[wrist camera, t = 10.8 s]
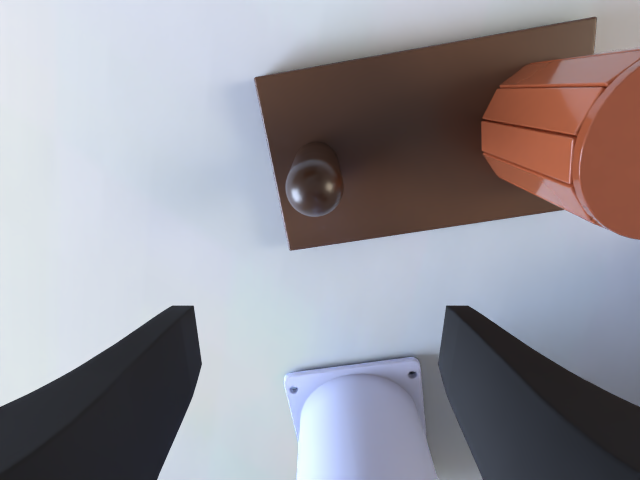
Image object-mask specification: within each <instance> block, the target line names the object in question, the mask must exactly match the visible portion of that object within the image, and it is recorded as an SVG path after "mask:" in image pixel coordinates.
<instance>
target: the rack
mask: <svg viewBox="0 0 640 480" xmlns="http://www.w3.org/2000/svg"><path fill="white" fill-rule="evenodd" d="M596 22H597V18H596V17H591V18H585V19H580V20H574V21H568V22H563V23H557V24H552V25H546V26H540V27H535V28H529V29H523V30H518V31H512V32H507V33H501V34H495V35H490V36H484V37H478V38H473V39H467V40H462V41H456V42H450V43H445V44H439V45H433V46H428V47H422V48H417V49H411V50H405V51H400V52H394V53H388V54H383V55H377V56H371V57H366V58H360V59H355V60H349V61H343V62H338V63H332V64H326V65H321V66H315V67H310V68H304V69H298V70H293V71H287V72H281V73H276V74H270V75H265V76H259V77H255V78H254V81H255V86H256V91H257V96H258V101H259V105H260V110H261V115H262V120H263V125H264V130H265V134H266V139H267V144H268V149H269V154H270V159H271V164H272V168H273V173H274V178H275V183H276V188H277V193H278V197H279V202H280V207H281V212H282V217H283V222H284V227H285V231H286V236H287V241H288V246H289V250H290V251H292V250H298V249H305V248H312V247H318V246H325V245H332V244H338V243H345V242H352V241H359V240H365V239H372V238H379V237H385V236H392V235H399V234H405V233H412V232H419V231H425V230H432V229H439V228H446V227H452V226H459V225H466V224H472V223H479V222H486V221H492V220H499V219H506V218H512V217H519V216H526V215H533V214H539V213H546V212H553V211H559V210H564V209H562V208H560V207H558V206H556V205H554V204H552V203H550V202H548V201H546V200H544V199H542V198H540V197H538V196H536V195H534V194H532V193H530V192H528V191H526V190H524V189H521V188H519V187H517V186H515V185H513V184H511V183H509V182H507V181H505V180H503V179H501V178H500V177H499V176H497V175H496V174H495V172H494V171H493V169H492V167H491V166H490V164H489V163H488V161H487V160H486V158H485V157H484V155H483V153H484V152H483V151H482V136H481V122H482V121H484V119H483V118H482V117H483V115H484V113H485V111H486V109H487V107H488V105H489V104H490V102H491V100H492V98H493V96H494V94H495V92H496V90H497V88H500V85H501V84H502V83H503V82H505V81H506V80H507V79H509V78H510V77H511V76H513V75H514V74H515V73H516V72H518V71H519V70H520V69H522V68H523V67H524V66H525V65H529V64H530V63H533V62H538V61H544V60H550V59H556V58H562V57H569V56H576V55H584V54H591V53H594V46H595V34H596Z"/></svg>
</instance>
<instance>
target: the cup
mask: <svg viewBox="0 0 640 480" xmlns="http://www.w3.org/2000/svg"><path fill="white" fill-rule="evenodd" d="M482 118H483V119H484V121H482V122H481V136H482V151H483V152H484V153H483V155H484V157H485V158H486V160H487V161H488V163H489V164H490V166H491V167H492V169H493V171H494V172H495V174H496V175H497V176H499V177H500V178H501V179H503V180H505V181H507V182H509V183H511V184H513V185H515V186H517V187H519V188H521V189H524V190H526V191H528V192H530V193H532V194H534V195H536V196H538V197H540V198H542V199H544V200H546V201H548V202H550V203H552V204H554V205H556V206H558V207H560V208H562V209H564V210H566V211H568V212H570V213H573V214H575V215H577V216H579V217H581V218H583V219H585V220H587V221H589V222H591V223H593V224H595V225H598V226H600V227H603V228H605V229H608V230H610V231H612V232H614V233H617V234H619V235H621V236H625V237H628V238H632V239H638V240H640V47H635V48H628V49H620V50H613V51H606V52H598V53H591V54H584V55H576V56H569V57H562V58H556V59H550V60H544V61H538V62H533V63H530V64H529V65H525V66H524V67H523V68H522V69H520V70H519V71H518V72H516V73H515V74H514V75H513V76H511V77H510V78H509V79H507V80H506V81H505V82H503V83H502V84H501V85H500V88H497V90H496V92H495V94H494V96H493V98H492V100H491V102H490V104H489V105H488V107H487V109H486V111H485V113H484V115H483V117H482Z"/></svg>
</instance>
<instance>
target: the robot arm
mask: <svg viewBox="0 0 640 480" xmlns="http://www.w3.org/2000/svg"><path fill="white" fill-rule="evenodd" d="M201 365H202V362H201V355H200V348H199V341H198V333H197V326H196V319H195V312H194V306H171V307H169V308H168V309H166V310H164V311H163V312H161V313H160V314H158V315H157V316H155V317H154V318H152V319H151V320H149V321H148V322H147V323H145V324H144V325H142V326H141V327H139V328H138V329H136V330H135V331H133V332H132V333H131V334H129V335H128V336H126V337H125V338H123V339H122V340H120V341H119V342H117V343H116V344H114V345H113V346H111V347H110V348H108V349H106V350H105V351H103V352H102V353H100V354H98V355H97V356H95V357H94V358H92V359H90V360H89V361H87V362H86V363H84V364H82V365H81V366H79V367H78V368H76V369H74V370H72V371H71V372H69V373H67V374H65V375H64V376H62V377H60V378H58V379H56V380H54V381H52V382H51V383H49V384H47V385H45V386H43V387H41V388H39V389H37V390H35V391H33V392H31V393H29V394H27V395H25V396H23V397H21V398H19V399H17V400H14V401H12V402H10V403H8V404H6V405H4V406H1V407H0V480H157V478H158V476H159V473H160V471H161V469H162V466H163V464H164V462H165V459H166V457H167V455H168V453H169V450H170V448H171V446H172V443H173V441H174V439H175V437H176V434H177V432H178V430H179V427H180V425H181V423H182V421H183V418H184V416H185V413H186V411H187V409H188V406H189V404H190V402H191V399H192V397H193V394H194V390H195V387H196V384H197V380H198V376H199V373H200V369H201ZM438 365H439V369H440V373H441V376H442V380H443V384H444V387H445V390H446V394H447V397H448V399H449V402H450V404H451V407H452V409H453V411H454V414H455V416H456V418H457V421H458V423H459V425H460V427H461V430H462V432H463V434H464V437H465V439H466V441H467V443H468V446H469V448H470V450H471V453H472V455H473V457H474V459H475V462H476V464H477V466H478V469H479V471H480V473H481V476H482V478H483V480H640V407H639V406H636V405H634V404H632V403H630V402H628V401H626V400H623V399H621V398H619V397H617V396H615V395H613V394H611V393H609V392H607V391H605V390H603V389H601V388H599V387H598V386H596V385H594V384H592V383H590V382H588V381H586V380H584V379H582V378H580V377H579V376H577V375H575V374H573V373H571V372H570V371H568V370H566V369H565V368H563V367H561V366H560V365H558V364H556V363H555V362H553V361H551V360H550V359H548V358H546V357H545V356H543V355H541V354H540V353H538V352H537V351H535V350H534V349H532V348H531V347H529V346H527V345H526V344H524V343H523V342H521V341H520V340H518V339H517V338H515V337H514V336H513V335H511V334H510V333H508V332H507V331H505V330H504V329H502V328H501V327H499V326H498V325H497V324H495V323H494V322H492V321H491V320H489V319H488V318H486V317H485V316H483V315H482V314H480V313H479V312H477V311H476V310H474V309H473V308H471V307H469V306H446V312H445V319H444V326H443V333H442V340H441V348H440V355H439V362H438ZM411 371H415V372H414V373H413V374H409V372H411ZM284 386H285V390H286V394H287V398H288V402H289V406H290V410H291V415H292V419H293V423H294V427H295V431H296V435H297V439H298V443H299V447H298V463H297V479H296V480H438V477H437V474H436V471H435V467H434V464H433V461H432V457H431V454H430V451H429V447H428V444H427V438H426V426H425V414H424V403H423V391H422V379H421V367H420V364H419V361H418V360H417V359H416V358H414V357H406V358H399V359H391V360H383V361H376V362H368V363H360V364H352V365H345V366H337V367H329V368H322V369H314V370H306V371H299V372H291V373H288V374H287V375H286V376H285V378H284ZM293 386H294V387H297V388H296V389H293V388H291V387H293Z"/></svg>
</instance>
